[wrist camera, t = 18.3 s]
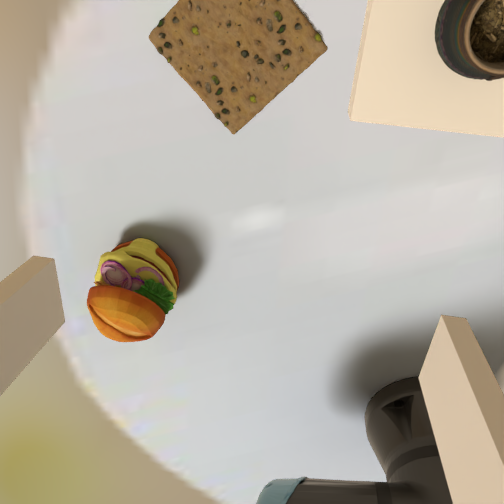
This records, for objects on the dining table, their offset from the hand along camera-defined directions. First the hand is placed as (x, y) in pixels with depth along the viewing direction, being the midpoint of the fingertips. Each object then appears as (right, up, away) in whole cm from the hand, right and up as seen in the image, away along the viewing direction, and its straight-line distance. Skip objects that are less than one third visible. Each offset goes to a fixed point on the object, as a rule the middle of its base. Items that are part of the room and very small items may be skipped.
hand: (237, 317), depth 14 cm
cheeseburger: (-13, -1, +38) cm, 40 cm away
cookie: (-1, +22, +25) cm, 33 cm away
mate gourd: (+18, +19, +17) cm, 31 cm away
